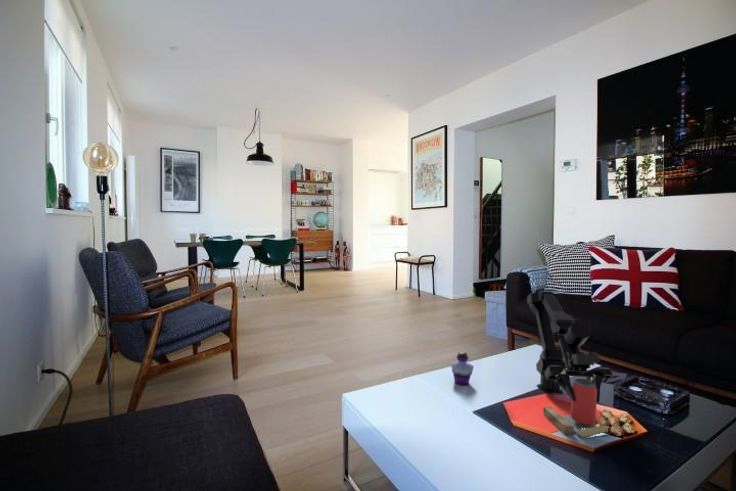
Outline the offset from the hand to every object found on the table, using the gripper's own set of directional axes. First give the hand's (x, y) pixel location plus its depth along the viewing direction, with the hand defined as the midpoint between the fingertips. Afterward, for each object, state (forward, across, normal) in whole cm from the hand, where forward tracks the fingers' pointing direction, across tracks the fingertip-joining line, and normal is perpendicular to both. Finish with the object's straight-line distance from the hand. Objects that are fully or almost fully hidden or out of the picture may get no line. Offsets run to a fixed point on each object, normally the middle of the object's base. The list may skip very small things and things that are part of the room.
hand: (586, 401), depth 112 cm
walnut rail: (+5, -7, +7) cm, 11 cm away
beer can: (+4, 0, +6) cm, 7 cm away
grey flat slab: (+5, 0, +7) cm, 9 cm away
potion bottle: (-14, -32, +27) cm, 44 cm away
